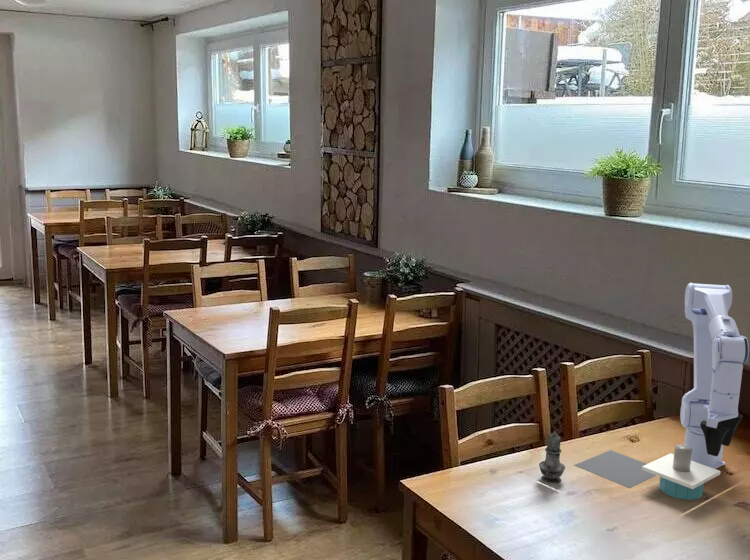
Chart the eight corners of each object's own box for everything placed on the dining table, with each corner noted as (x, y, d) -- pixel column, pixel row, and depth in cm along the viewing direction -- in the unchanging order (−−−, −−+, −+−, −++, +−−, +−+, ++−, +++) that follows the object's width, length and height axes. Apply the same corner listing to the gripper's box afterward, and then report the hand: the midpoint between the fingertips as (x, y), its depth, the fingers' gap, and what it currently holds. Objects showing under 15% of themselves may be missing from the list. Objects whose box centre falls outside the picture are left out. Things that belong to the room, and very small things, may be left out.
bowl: (672, 479, 184) (674, 460, 183) (709, 493, 177) (712, 474, 176) (651, 489, 178) (653, 470, 177) (688, 504, 171) (691, 485, 170)
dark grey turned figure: (564, 487, 178) (568, 437, 175) (537, 484, 179) (541, 434, 177) (563, 476, 183) (567, 427, 181) (537, 473, 185) (541, 424, 182)
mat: (610, 451, 198) (610, 450, 198) (665, 472, 187) (665, 470, 187) (573, 466, 189) (573, 465, 189) (629, 489, 178) (629, 487, 178)
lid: (670, 456, 185) (672, 433, 184) (720, 474, 176) (723, 449, 175) (641, 469, 177) (644, 445, 176) (692, 489, 168) (695, 463, 167)
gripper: (717, 378, 180) (710, 435, 183) (694, 394, 169) (688, 454, 172) (750, 386, 176) (743, 444, 178) (729, 402, 165) (722, 463, 167)
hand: (718, 449), depth 175 cm, fingers open, 7 cm apart
